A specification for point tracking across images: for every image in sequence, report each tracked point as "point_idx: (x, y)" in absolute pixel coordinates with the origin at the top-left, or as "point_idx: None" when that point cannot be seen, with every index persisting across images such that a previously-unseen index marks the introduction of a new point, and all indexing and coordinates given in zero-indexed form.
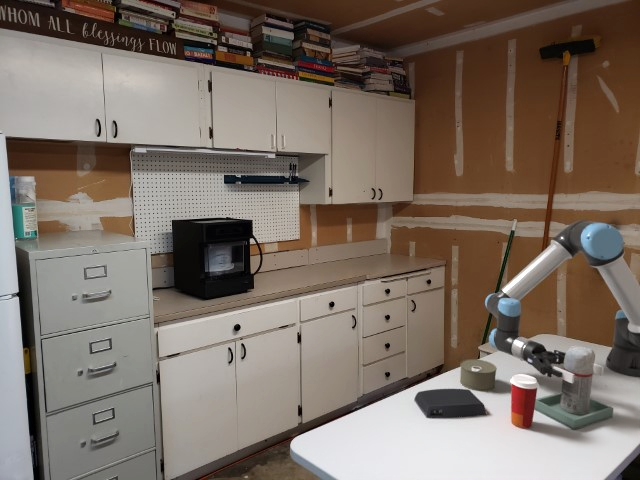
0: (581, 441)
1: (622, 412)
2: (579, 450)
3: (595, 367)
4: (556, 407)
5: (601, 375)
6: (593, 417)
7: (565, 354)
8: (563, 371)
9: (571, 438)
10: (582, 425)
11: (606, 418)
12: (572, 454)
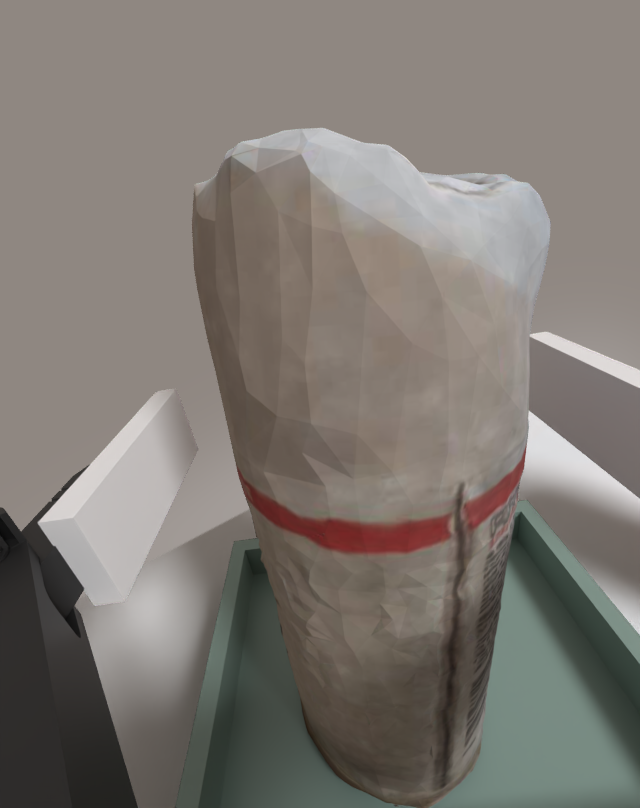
0: (530, 480)
1: (153, 595)
2: (568, 452)
3: (163, 437)
4: (514, 761)
5: (194, 449)
6: None
7: (510, 288)
8: (612, 365)
9: (565, 498)
10: None
11: None
12: None
